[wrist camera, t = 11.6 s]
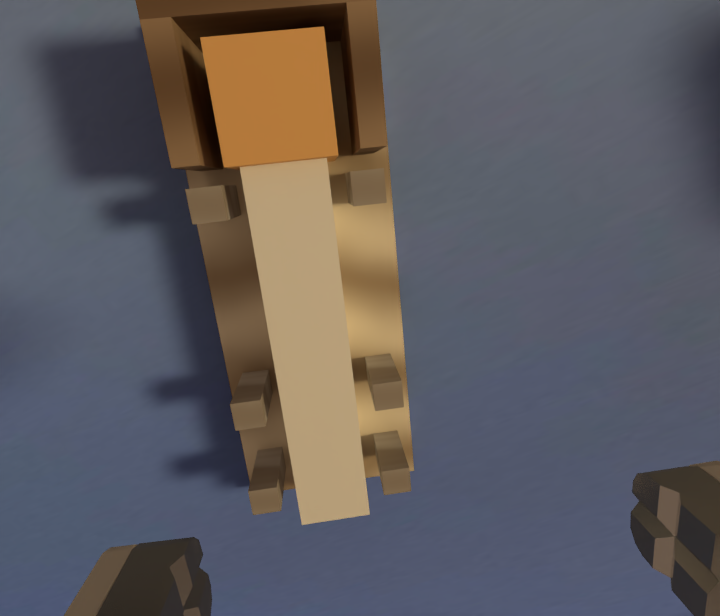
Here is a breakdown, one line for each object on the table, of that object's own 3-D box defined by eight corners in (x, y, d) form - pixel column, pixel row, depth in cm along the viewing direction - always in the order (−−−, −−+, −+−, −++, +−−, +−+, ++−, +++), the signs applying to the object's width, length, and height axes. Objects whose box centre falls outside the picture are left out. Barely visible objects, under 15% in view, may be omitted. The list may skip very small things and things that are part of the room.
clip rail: (410, 461, 31) (432, 525, 25) (254, 484, 30) (239, 555, 25) (373, 7, 23) (391, -52, 17) (161, 25, 22) (107, -30, 17)
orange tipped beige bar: (370, 470, 30) (380, 525, 25) (296, 481, 29) (292, 539, 25) (322, 59, 23) (323, 26, 18) (225, 68, 22) (200, 37, 18)
